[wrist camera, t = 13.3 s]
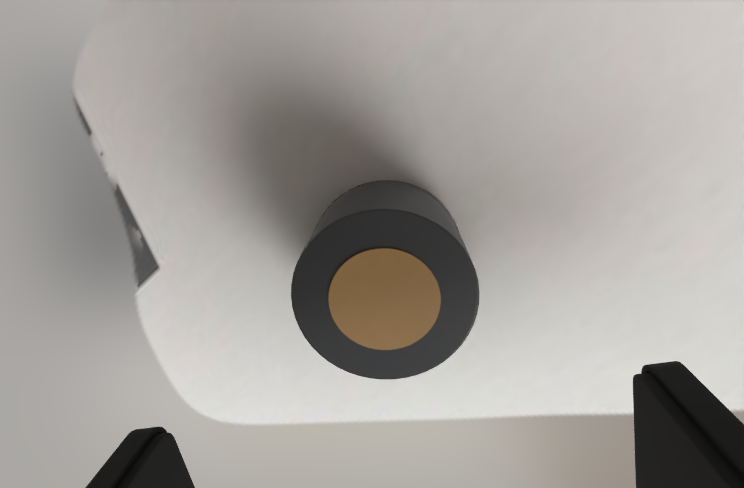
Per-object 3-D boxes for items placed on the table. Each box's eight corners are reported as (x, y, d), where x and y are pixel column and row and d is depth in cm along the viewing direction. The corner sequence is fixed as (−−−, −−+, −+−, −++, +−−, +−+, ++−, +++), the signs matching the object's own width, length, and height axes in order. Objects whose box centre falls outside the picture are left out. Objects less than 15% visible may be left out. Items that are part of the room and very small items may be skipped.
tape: (292, 286, 21) (264, 341, 16) (346, 155, 18) (331, 177, 14) (421, 339, 21) (428, 406, 17) (487, 217, 19) (515, 257, 15)
